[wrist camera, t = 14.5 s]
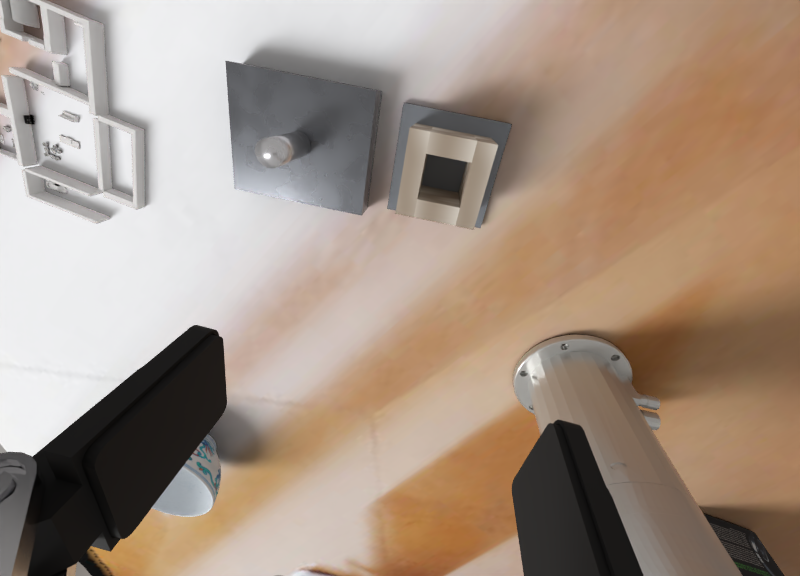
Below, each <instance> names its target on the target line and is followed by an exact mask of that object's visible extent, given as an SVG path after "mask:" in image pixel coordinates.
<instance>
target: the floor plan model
mask: <svg viewBox="0 0 800 576" xmlns="http://www.w3.org/2000/svg"><path fill="white" fill-rule="evenodd" d="M37 5H40V9H41V17H42V24H43V32H44V36H43V38H44V40H42V39H40V38H37V37H35V36H33V35H30V34H28V33H25V32H24V28H23V25H27V26H30V27H35V28H40V21H39V14H38V7H37ZM64 16H65V17H67V18H70V19H72V20H74V21H77V22H74V24H75V25H76V26H79V27H82V28H83V38H84V50H85V62H86V74H87V86H88V95H85V94H83V93H81V92H79V91H76V90H74V89H72V88H70V87H67V86H70V78H69V69H68V64H65V63H63V62H55V61H52V65H53V73H54V80H52V79H49V78H47V77H45V76H43V75H40V74H38V73H36V72H33V71H31V70H29V69H27V68H18V67H9V71H10V73H12V74H15V75H17V76H11V75H1V77H2V82H3V87H4V92H5V97H6V102H7V105H6V104H3V103H1V102H0V114H1V115H4V116H6V117H8V118H10V123H11V128H12V133H13V138H14V139H12V140H13V148H15V149H16V154H14V153H12V152H9V151H7V150H4V149H2V148H1V147H0V154H1V155H4V156H6V157H9V158H11V159H14V160H16V161H18V164H19V165H20V166H23V167H24V166H30V165H37V164H38V162H37V156H36V150H35V144H34V138H33V132H32V126H31V124H34V123H33V122H35V121H33V119H34V118H33V117H32V115H30V114H29V107H28V101H27V95H26V89H25V83H24V79H27V80H29V81H30V82H32V83H30V86H32V88H33V89H34V90H37V91H38V85H41V86H44V87H46V88H48V89H51V90H53V91H56V92H58V93H60V94H63V95H65V96H68V97H70V98H73V99H75V100H77V101H80V102H82V103H85V104H87V105H89V113H90V114H93V115H95V116H98V118H93V125H94V137H95V150H96V163H97V175H98V188H96V187H94V186H91V185H89V184H86V183H84V182H81V181H79V180H76V179H74V178H71V177H69V176H66V175H63V174H61V173H58V172H56V171H53V170H51V169H48V168H46V167H43V166H36V167H30V168H25V169H24V170H22V175H23V180H24V185H25V191H26V196H27V197H29V198H32V199H35V200H37V201H40V202H42V203H45V204H47V205H50V206H52V207H55V208H58V209H60V210H63V211H65V212H68V213H70V214H73V215H76V216H78V217H81V218H83V219H86V220H88V221H91V222H93V223H96V224H97V223H100V222H103V221H106V220H109V219H110V217H109V216H107V215H104V214H102V213H99V212H97V211H94V210H91V209H89V208H86V207H84V206H81V205H79V204H76V203H74V202H71V201H69V200H66V199H63V198H61V197H58V196H56V195H53V194H51V193H48V192H46V191H45V186H44V179H46V180H49V181H46V185H47V188H51V189H53V190H56V191H59V193H60V192H62V193H67V192H68V190H67V189H66V188H69V189H72V190H74V191H77V192H79V193H82V194H84V195H87V196H93V195H97V194H100V193H103V194H104V197H106V198H108V199H111V200H113V201H116V202H118V203H121V204H123V205H126V206H129V207H131V208H134V209H136V210H138V209H140V208H143V207H145V136H144V129H142V128H139V127H137V126H134V125H132V124H130V123H127V122H125V121H122V120H120V119H118V118H115V117H113V116H110V115H109V106H108V88H107V70H106V52H105V34H104V24H102V23H100V22H98V21H94V20H92V19H90V18H87V17H85V16H83V15H80V14H78V13H76V12H73V11H71V10H69V9H67V8H64V7H62V6H60V5H57V4H55V3H53V2H50V1H48V0H0V17H1V18H0V28H1V32H2V33H4V34H7V35H10V36H12V37H14V38H17V39H19V40H21V41H27V42H29V44H30V45H33V46H35V47H37V48H40V49H42V50H45V51H47V52H50V53H53V54H62V55H68V53H67V43H66V32H65V22H64ZM78 22H79V23H78ZM0 40H1V39H0ZM43 93H44V92H43ZM58 116H60V117H63V118H65V119H67V120H69V121H72V122H78V117H77V116H75V115H72V114H70V113H67V112H65V111H63V114H62V115H58ZM109 125H110V126H113V127H115V128H118V129H120V130H123V131H125V132H127V133H130V134H131V141H132V178H133V196H130V195H128V194H125V193H123V192H120V191H118V190H115V189H113V188H112V171H111V153H110V136H109ZM11 128H9V127H6V126H3V129H4V130H6V131H7V132H8V131H9V132H10V130H11ZM59 136H60V142H63V143H65V144H68V145H70V146H73V147H75V148H77V149H80V148H79V143H78V142H76V141H73V139H71V138H68V137H64V136H61V135H59ZM0 143H3V144H5V143H4V139H3V135H2V134H0ZM43 145H44V146H45V148H44V149H45V151H46V153H44V155H45V156H50V157H51V158H55V160H61V158H60V157H55V155H50V153H48V151H49V148H47V146H49V144H48V143H43ZM53 148H55V149H56V150H57V152H58V153H62V151H61V150H59V149H58V146H57V145H53ZM53 148H51V150H52V152H53V153H55V154H56V151H55V150H54V149H53ZM43 178H44V179H43ZM47 182H48V184H47ZM48 186H49V187H48Z"/></svg>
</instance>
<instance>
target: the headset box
mask: <svg viewBox="0 0 800 576" xmlns="http://www.w3.org/2000/svg"><path fill="white" fill-rule="evenodd" d="M704 516H705V517H706V519H707V521H708V522H709V524H710V526H711V527H712V529H713V530H714V532H715V534H716V535H717V537H718V538H719V540H720V542H721V543H722V545H723V546H724V548H725V549H726V551H727V552H728V554H729V555H730V557H731V559H732V560H733V562H734V563H735V565H736V566H737V568H738V569H739V571H740V572H741V574H742V575H743V576H784V575H783V573H782V572H781V570H780V569H779V567H778V566H777V564H776V563H775V561H774V560H773V559H772V557H771V556H770V554H769V553H768V551H767V550H766V548H765V547H764V545H763V544H762V542H761V541H760V540H759V538H758V537H757V535H756V534H755V533H754V532H752V531H750V530H747V529H745V528H742V527H739V526H737V525H734V524H731V523H728V522H725V521H723V520H720V519H717V518H714V517H711V516H708V515H705V514H704Z"/></svg>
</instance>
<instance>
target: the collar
mask: <svg viewBox="0 0 800 576" xmlns="http://www.w3.org/2000/svg"><path fill="white" fill-rule="evenodd" d="M497 148H498V144H497V143H496V142H495V141H494V140H493V139H492V138H489V137H484V136H479V135H473V134H468V133H463V132H458V131H453V130H448V129H443V128H438V127H433V126H428V125H423V124H418V123H415V124H414V125H413V126H411V127H410V129H409V135H408V141H407V147H406V153H405V159H404V165H403V171H402V177H401V183H400V189H399V195H398V201H397V207H396V213H395V214H399V215H404V216H409V217H413V218H418V219H423V220H428V221H433V222H438V223H443V224H448V225H452V226H457V227H462V228H467V229H472V230H474V227H475V224H476V220H477V217H478V213H479V210H480V206H481V203H482V200H483V196H484V193H485V189H486V186H487V182H488V179H489V175H490V172H491V169H492V165H493V162H494V158H495V155H496V151H497ZM428 154H430V155H435V156H440V157H445V158H450V159H455V160H460V161H465V162H466V165H465V169H464V173H463V177H462V181H461V185H460V189H459V193H458V192H453V191H448V190H443V189H438V188H433V187H428V186H423V185H422V181H423V176H424V171H425V166H426V161H427V156H428Z"/></svg>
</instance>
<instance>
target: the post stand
mask: <svg viewBox="0 0 800 576" xmlns="http://www.w3.org/2000/svg"><path fill="white" fill-rule="evenodd" d="M226 73H227V87H228V101H229V116H230V130H231V144H232V158H233V172H234V186H235V189H237V190H242V191H247V192H252V193H256V194H261V195H266V196H271V197H276V198H280V199H285V200H290V201H295V202H300V203H304V204H309V205H314V206H319V207H324V208H328V209H333V210H338V211H343V212H348V213H352V214H357V215H362V214H363V213H364V212H365V210H366V209H367V207H368V199H369V191H370V183H371V175H372V167H373V159H374V152H375V144H376V136H377V128H378V120H379V112H380V104H381V96H382V91H378V90H373V89H368V88H363V87H358V86H353V85H348V84H343V83H338V82H333V81H328V80H323V79H318V78H313V77H308V76H303V75H298V74H293V73H287V72H282V71H277V70H272V69H267V68H262V67H257V66H252V65H247V64H242V63H236V62H230V61H226Z"/></svg>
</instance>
